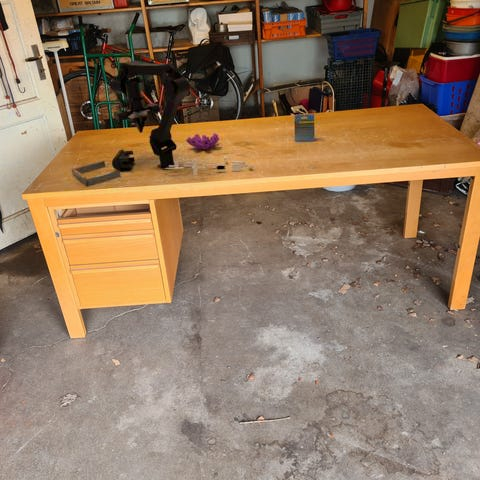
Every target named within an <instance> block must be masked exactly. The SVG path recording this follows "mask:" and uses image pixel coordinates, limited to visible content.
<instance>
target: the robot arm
mask: <svg viewBox="0 0 480 480" xmlns="http://www.w3.org/2000/svg"><path fill="white" fill-rule="evenodd" d="M140 76H158V77H159V78H160V82H161V85H162V86H163V88H164V89H165V95H166V98H167V99H166V102H165V104H164V109H163V111H162V110H161V105H159V104H157V103H154V102H153V103H149V104H146V105H145V106H144V101H143V100H144V98H145V97H144V96H143V95H142V89H141V84H142V83H144V80H143V79H142V78H140ZM168 77H170V78H171V79H172V80H170V79H169V78H168ZM110 88H111V89H110V90H111V91H112V92H113V93H114V94H123V95H124V94H125V95H126V98H125V99H120V100H119V101H118V104H119V105H118V106H119V109H121V110H117V111H114V112H113V119H115V120H117V121H119V122H120V121H121V122H123V121H125V120H128V119H129V120H131V121H132V122H133V123H134V125H135V126H136V129H137V130H138V132H139V134H140V133H143V132H144V131H143V130H144V128H145V124H146V121H147V118H148V117H149V114H148V113H149V112H153V113H154V114H157V113H160V112H162V115H161V118H160V121H159V123H158V124H159V125H158V127H156V128H153V129H151V131H150V135H149V136H148V138H149V146H150V147H151V150H152V153H153V154H154V155H156V156H157V157H158V160H159V164H156V165H157V167H158V168H160V169H161V170H166V169H164V168H173V167H168V166H167V165H174V161H175V160H174V155H173V154H174V153H173V152H174V151H177V147H178V146H177V143H175V142H174V140H173V139H172V133H171V129H172V127H173V124H174V122H175V118H176V115H177V112H178V110H179V106H180V104H181V102H182V101H183V100H184V99H185V97H187V95H188V93H189V92H190V89H191V85H190V83H189V81H188V80H187V78H185V76H184V75H183V74H182V73H181V72H179V71H178V70H176V69H175V68H173V66H172V65H171V64H169V63H167V62H166V63H142V62H141V61H138V60H134V59H133V60H128V61H125V62H121V63H120V65H119V69H118V72H117V74H116V75H113V76H112V80H111V81H110ZM125 100H126V101H125Z"/></svg>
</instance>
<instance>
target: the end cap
mask: <svg viewBox="0 0 480 480" xmlns="http://www.w3.org/2000/svg"><path fill="white" fill-rule="evenodd" d="M130 155H131V156H132V155H134V151H133V150H124V149H123V148H122V149H120V150H118V151H117V153H116V154H115V156H114V157H113V158H112V160H111V165H112V167H113V169H114V170H115V171H118V170H119V171H120V173H125V172H131V171H132V170H133V169H134V167H135V165H136V163H135V162H136V161H135V157H134V156H132V157H131V156H130Z"/></svg>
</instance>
